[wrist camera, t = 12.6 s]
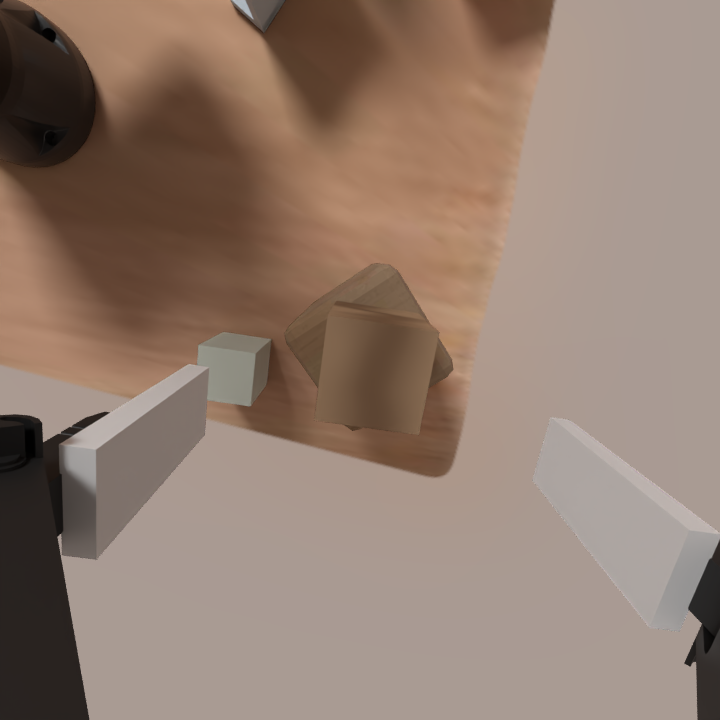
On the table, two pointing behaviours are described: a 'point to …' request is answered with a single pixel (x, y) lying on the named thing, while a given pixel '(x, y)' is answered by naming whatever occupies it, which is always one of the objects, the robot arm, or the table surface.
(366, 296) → the wooden block
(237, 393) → the sage block
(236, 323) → the table surface
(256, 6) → the placard
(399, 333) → the walnut block
